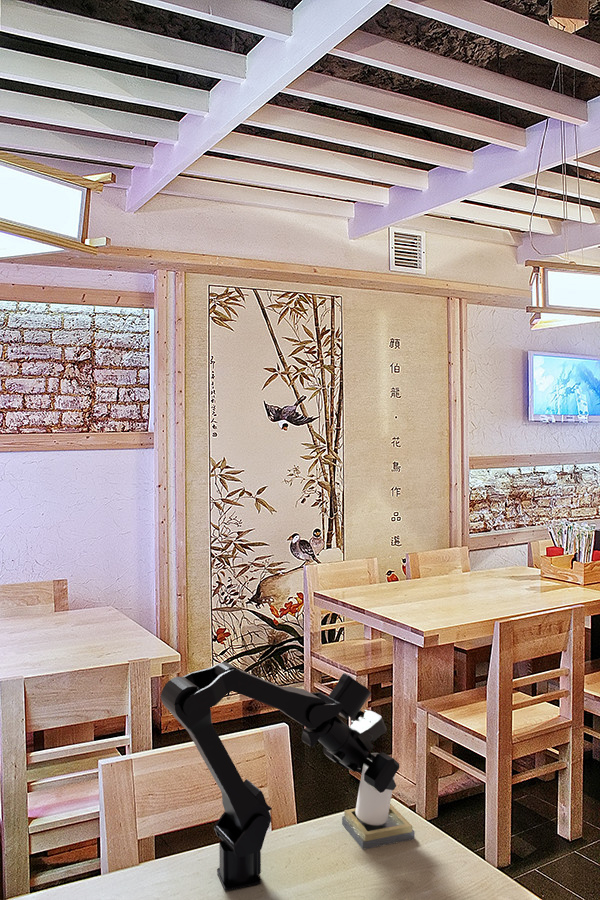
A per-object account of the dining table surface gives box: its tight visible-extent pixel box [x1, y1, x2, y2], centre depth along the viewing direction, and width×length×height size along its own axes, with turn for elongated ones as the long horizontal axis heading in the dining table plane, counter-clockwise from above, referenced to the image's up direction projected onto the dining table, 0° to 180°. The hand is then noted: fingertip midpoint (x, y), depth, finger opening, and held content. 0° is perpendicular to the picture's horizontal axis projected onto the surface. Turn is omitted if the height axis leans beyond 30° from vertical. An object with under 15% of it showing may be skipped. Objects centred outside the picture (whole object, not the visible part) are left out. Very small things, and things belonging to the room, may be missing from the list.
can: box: [355, 752, 396, 826], centre depth 150 cm, size 6×6×12 cm
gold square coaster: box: [341, 803, 416, 850], centre depth 150 cm, size 11×10×3 cm
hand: (384, 780), depth 150 cm, fingers open, 6 cm apart
